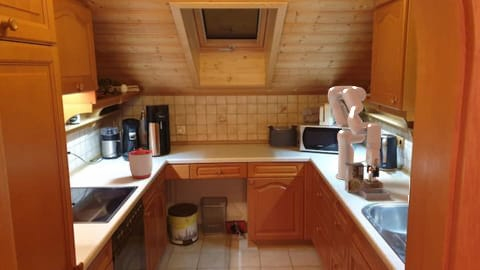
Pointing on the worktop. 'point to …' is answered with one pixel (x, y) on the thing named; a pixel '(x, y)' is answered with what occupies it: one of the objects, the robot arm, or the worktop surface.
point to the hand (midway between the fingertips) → (372, 174)
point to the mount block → (372, 184)
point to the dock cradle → (374, 194)
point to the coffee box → (354, 177)
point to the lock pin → (371, 175)
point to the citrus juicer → (140, 163)
